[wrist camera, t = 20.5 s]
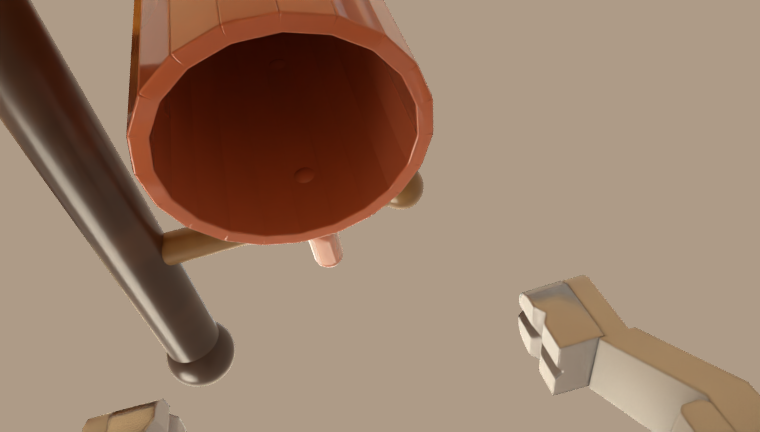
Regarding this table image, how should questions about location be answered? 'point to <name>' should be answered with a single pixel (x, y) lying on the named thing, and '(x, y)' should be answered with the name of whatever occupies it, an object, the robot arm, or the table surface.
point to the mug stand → (114, 197)
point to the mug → (274, 116)
